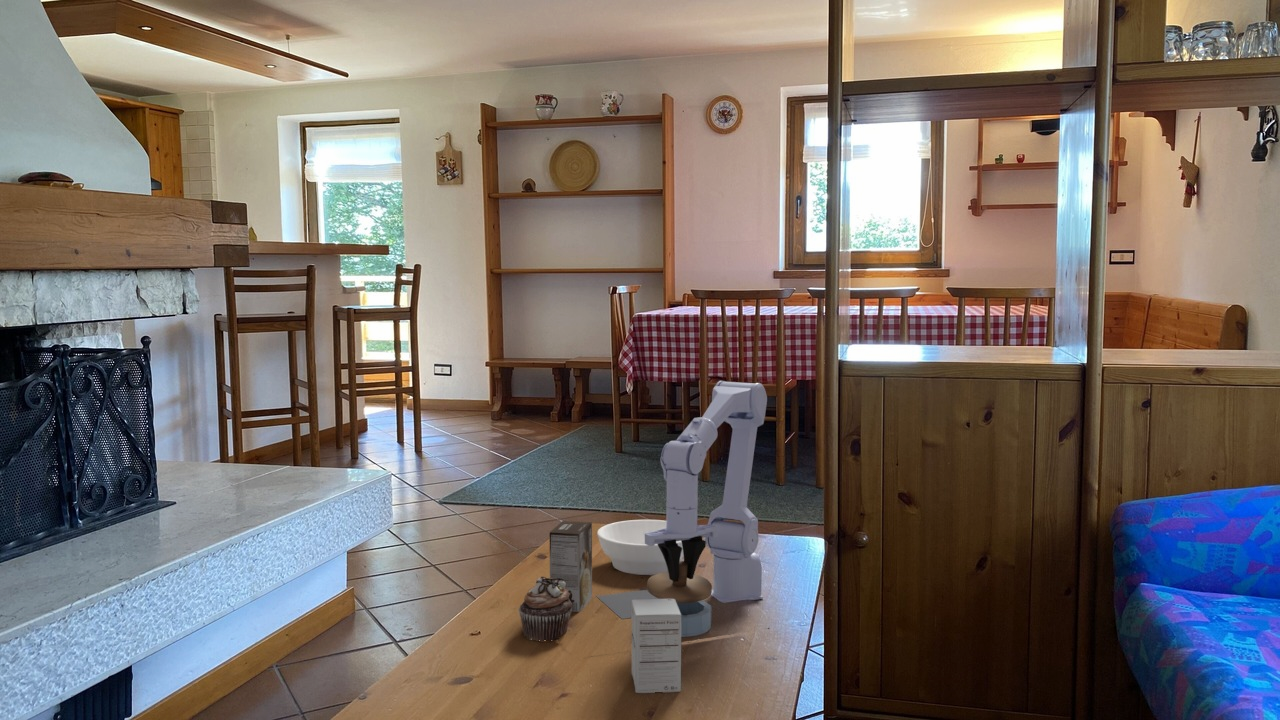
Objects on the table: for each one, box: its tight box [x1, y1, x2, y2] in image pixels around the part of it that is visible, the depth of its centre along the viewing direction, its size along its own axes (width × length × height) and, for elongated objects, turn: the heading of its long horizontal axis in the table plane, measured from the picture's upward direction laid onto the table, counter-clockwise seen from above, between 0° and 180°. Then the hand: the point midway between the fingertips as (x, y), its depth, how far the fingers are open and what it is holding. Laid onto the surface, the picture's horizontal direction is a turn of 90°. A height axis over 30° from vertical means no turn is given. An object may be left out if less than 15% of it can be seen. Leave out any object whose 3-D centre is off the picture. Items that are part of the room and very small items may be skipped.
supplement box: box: [631, 599, 682, 694], centre depth 144 cm, size 7×7×13 cm
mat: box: [595, 589, 659, 620], centre depth 180 cm, size 14×14×1 cm
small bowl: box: [677, 600, 712, 638], centre depth 168 cm, size 11×11×4 cm
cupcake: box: [518, 576, 572, 642], centre depth 165 cm, size 10×10×10 cm
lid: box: [646, 560, 713, 603], centre depth 168 cm, size 12×12×5 cm
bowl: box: [596, 519, 684, 576], centre depth 205 cm, size 22×22×8 cm
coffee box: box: [549, 520, 593, 613], centre depth 179 cm, size 9×6×16 cm
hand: (681, 578), depth 167 cm, fingers closed on lid, 3 cm apart
